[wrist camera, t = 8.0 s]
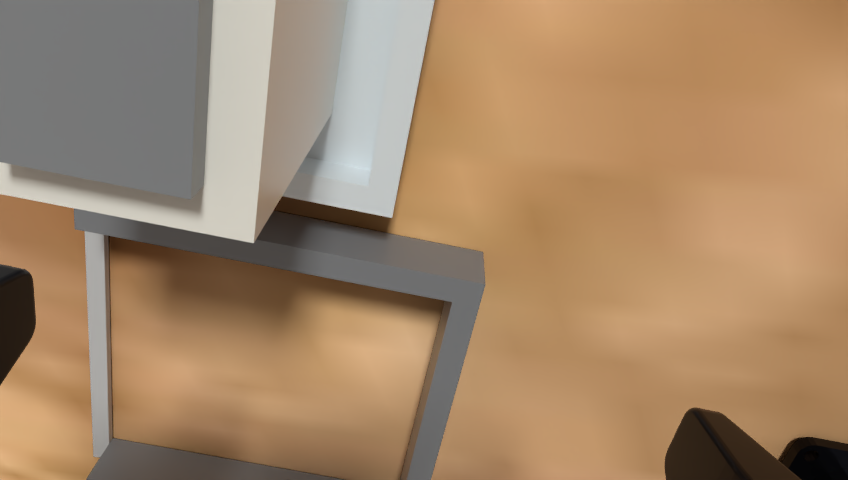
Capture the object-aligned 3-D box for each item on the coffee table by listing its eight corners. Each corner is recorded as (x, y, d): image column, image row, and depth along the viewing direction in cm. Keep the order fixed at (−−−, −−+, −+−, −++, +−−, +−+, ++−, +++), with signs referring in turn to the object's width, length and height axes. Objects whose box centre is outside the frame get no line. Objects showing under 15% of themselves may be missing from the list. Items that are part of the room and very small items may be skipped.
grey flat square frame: (483, 251, 21) (485, 284, 19) (414, 507, 26) (410, 551, 24) (87, 173, 20) (52, 199, 19) (97, 450, 26) (70, 491, 24)
